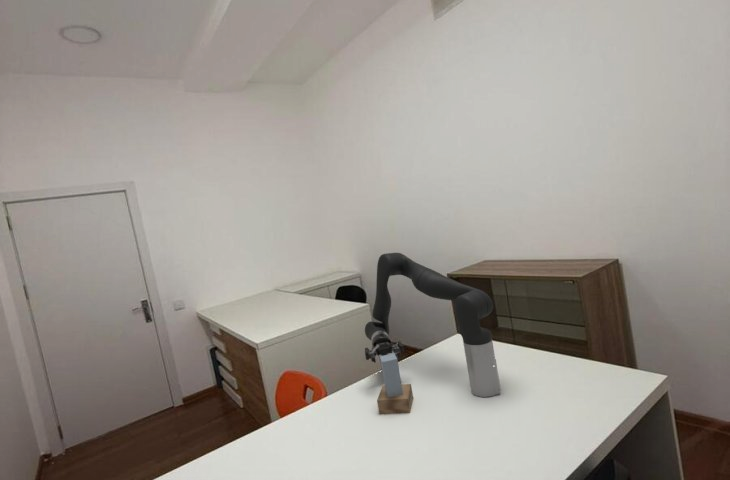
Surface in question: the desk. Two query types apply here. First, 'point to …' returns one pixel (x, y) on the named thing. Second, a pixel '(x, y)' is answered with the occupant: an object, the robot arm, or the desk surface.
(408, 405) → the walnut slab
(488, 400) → the desk surface
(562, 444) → the desk surface
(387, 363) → the slate pillar
